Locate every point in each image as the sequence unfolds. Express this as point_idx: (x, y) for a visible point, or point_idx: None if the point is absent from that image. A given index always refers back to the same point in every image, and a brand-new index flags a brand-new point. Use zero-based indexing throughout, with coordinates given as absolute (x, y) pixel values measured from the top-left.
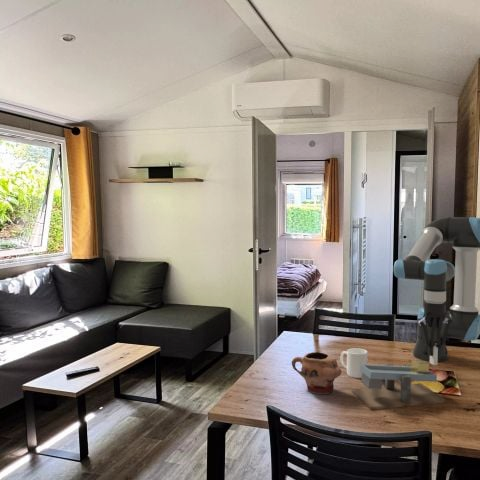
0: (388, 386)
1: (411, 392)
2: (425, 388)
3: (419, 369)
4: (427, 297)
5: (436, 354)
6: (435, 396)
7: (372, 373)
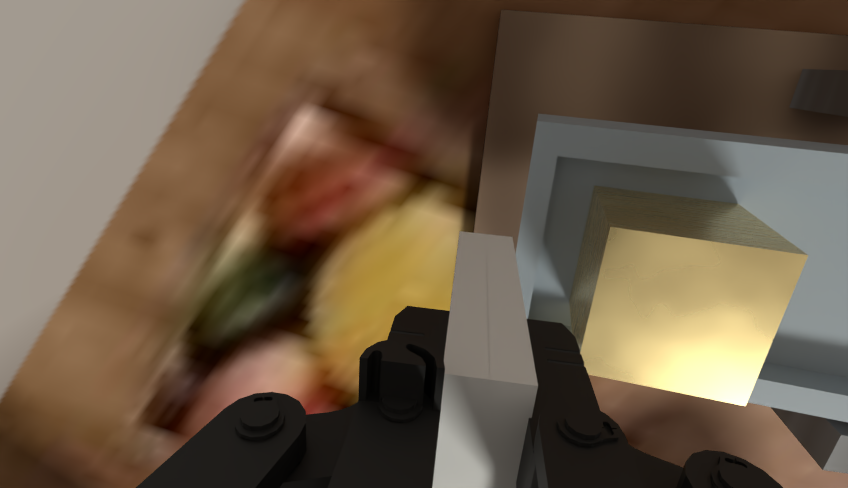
0: None
1: None
2: None
3: (741, 222)
4: None
5: (474, 300)
6: (533, 93)
7: None
